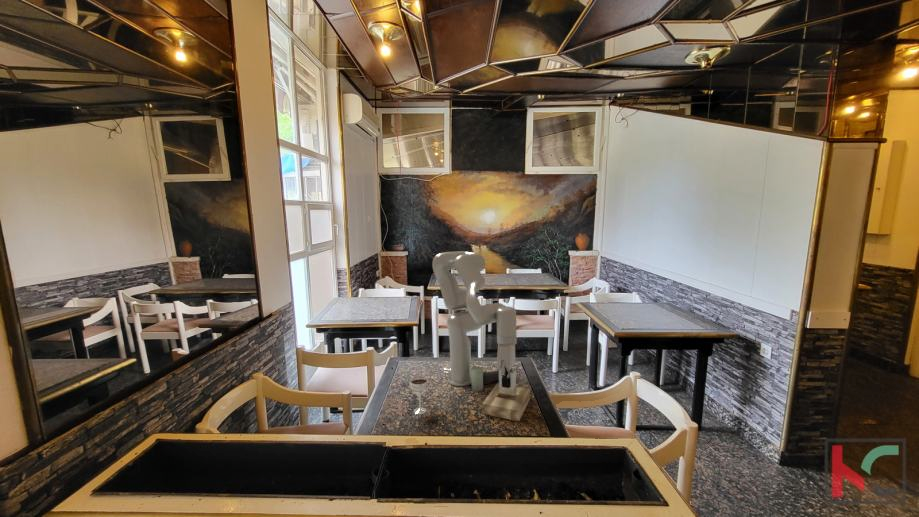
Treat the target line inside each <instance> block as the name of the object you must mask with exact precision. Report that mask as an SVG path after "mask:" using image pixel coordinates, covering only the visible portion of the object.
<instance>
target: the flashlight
mask: <svg viewBox="0 0 919 517" xmlns="http://www.w3.org/2000/svg"><path fill="white" fill-rule="evenodd" d="M496 381H499V370H494V371H483V385H488V384H490V383H493V382H496Z"/></svg>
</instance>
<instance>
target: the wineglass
mask: <svg viewBox="0 0 919 517" xmlns="http://www.w3.org/2000/svg"><path fill="white" fill-rule="evenodd" d="M428 381H429V380H428V378H427V377H425V376H418V377H414V378H412V379H410V390H411V392H412V393H413V394H414V395H416V396H418V405H419V407H416V408H415V409H414V410H413V413H414V414H415V415H423V414H425V413H427V411H428V410H427V408H425V407H421V406H422V405H421V401H422V400H421V397H422V395H424V394H425V393H426V392H427V391H428V388H429V384H428Z"/></svg>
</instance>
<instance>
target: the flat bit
mask: <svg viewBox="0 0 919 517" xmlns="http://www.w3.org/2000/svg"><path fill="white" fill-rule="evenodd" d="M505 369H506V368H505ZM505 373H507V372H505ZM509 378H510V388H505V387H502V375H501V368H500V370H499V380H498V384H499V393H502V394H507V395H513V396H514V395H515V393H516V387H517V370H516V369H511V370H510V371H509Z"/></svg>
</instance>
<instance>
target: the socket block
mask: <svg viewBox="0 0 919 517" xmlns="http://www.w3.org/2000/svg"><path fill="white" fill-rule="evenodd" d="M530 400H531V389H530V388H526V387H520V386H516V393H515V395H514V396H513V395H507V394H502V393H499V382H498V383H496V384H495V385H494V387H493V388H492V389H491V391H490V392H489V394H488V395H487V396H486V398H485V399H484V401H483V402H482V406H481V407H482V415H487V416H491V417H495V418H496V417H497V418H502V419H506V420H511V421H515V422H520V421H521V418H522V416H523V414H524V412H525V410H526V409H527V406H528V404H529V402H530Z"/></svg>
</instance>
